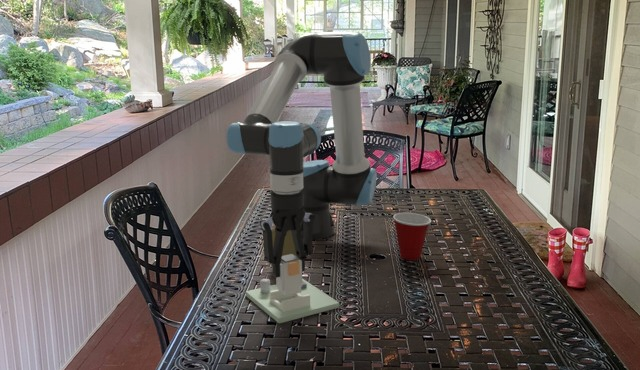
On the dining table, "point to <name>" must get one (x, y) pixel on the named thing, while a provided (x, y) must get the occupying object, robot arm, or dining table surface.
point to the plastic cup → (411, 234)
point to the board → (291, 301)
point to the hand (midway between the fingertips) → (289, 286)
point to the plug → (291, 274)
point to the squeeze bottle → (286, 243)
